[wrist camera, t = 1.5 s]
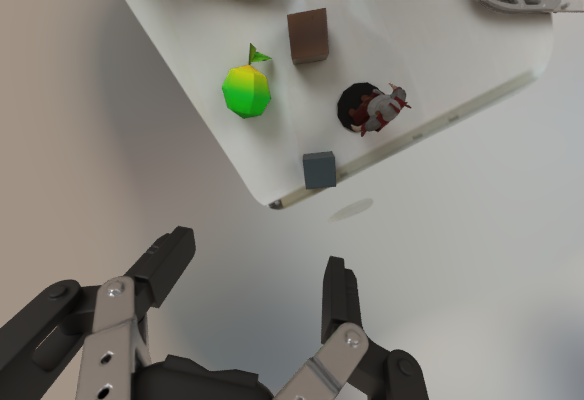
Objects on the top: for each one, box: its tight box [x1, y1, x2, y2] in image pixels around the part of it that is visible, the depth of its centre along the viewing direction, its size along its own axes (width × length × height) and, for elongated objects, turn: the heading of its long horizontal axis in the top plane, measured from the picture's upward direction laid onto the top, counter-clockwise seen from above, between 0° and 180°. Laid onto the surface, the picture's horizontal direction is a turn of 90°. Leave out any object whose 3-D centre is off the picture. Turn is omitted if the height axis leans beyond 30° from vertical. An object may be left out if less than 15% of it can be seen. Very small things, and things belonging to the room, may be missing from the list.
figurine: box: [338, 82, 411, 137], centre depth 26 cm, size 7×7×15 cm
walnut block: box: [287, 8, 329, 65], centre depth 29 cm, size 4×4×4 cm
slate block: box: [303, 151, 336, 189], centre depth 35 cm, size 4×4×4 cm
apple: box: [222, 43, 272, 119], centre depth 31 cm, size 7×6×9 cm
